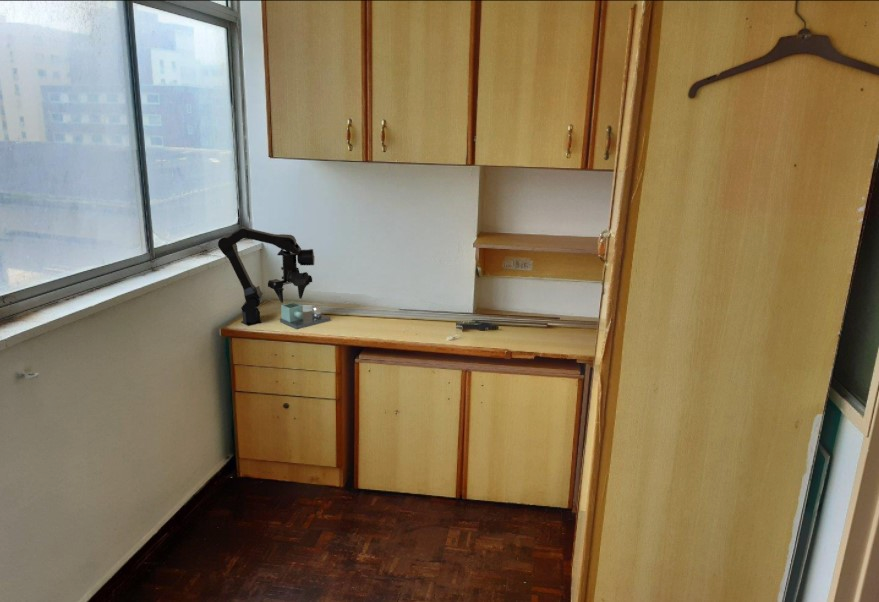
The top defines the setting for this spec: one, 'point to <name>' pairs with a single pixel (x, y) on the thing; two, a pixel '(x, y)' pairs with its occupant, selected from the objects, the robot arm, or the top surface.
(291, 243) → the robot arm
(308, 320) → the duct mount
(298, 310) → the duct collar
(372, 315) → the top surface
